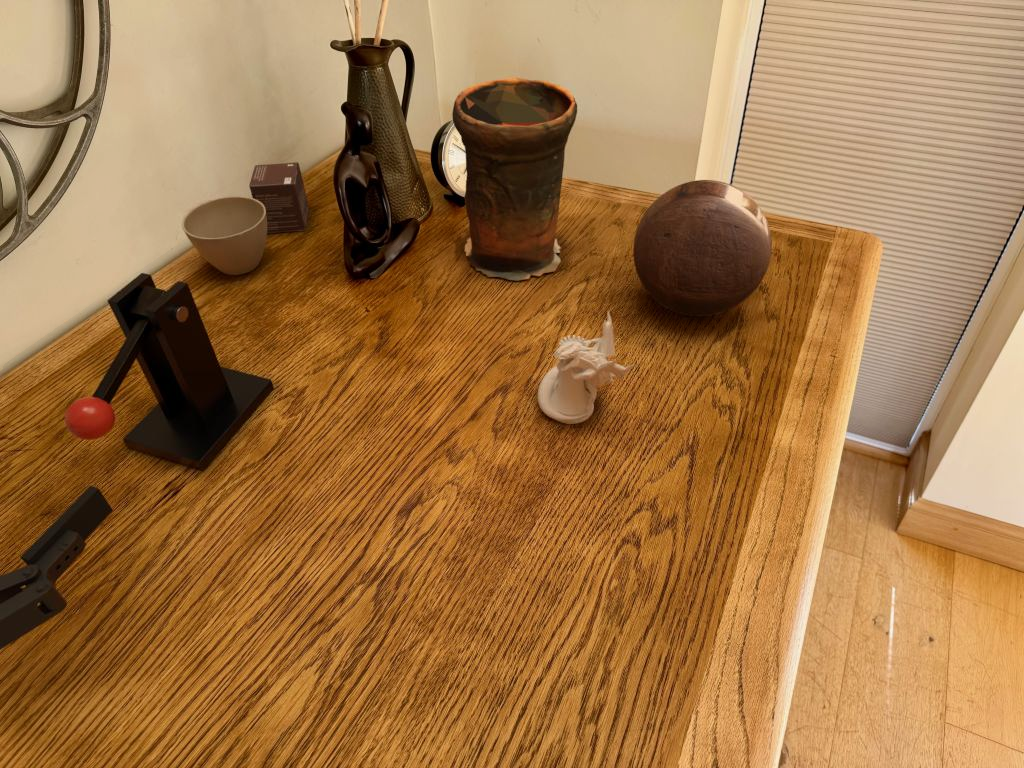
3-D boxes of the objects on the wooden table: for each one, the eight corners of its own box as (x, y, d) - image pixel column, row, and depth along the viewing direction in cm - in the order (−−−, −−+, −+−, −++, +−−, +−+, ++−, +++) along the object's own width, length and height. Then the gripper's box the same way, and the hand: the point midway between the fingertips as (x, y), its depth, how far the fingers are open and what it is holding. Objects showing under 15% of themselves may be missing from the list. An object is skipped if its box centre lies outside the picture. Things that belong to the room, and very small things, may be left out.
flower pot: (185, 266, 94) (166, 217, 89) (252, 235, 99) (237, 187, 94) (226, 297, 89) (208, 247, 84) (294, 262, 94) (281, 213, 89)
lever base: (203, 471, 69) (142, 344, 58) (127, 448, 71) (54, 321, 60) (274, 388, 77) (232, 263, 66) (204, 370, 79) (152, 246, 68)
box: (267, 212, 104) (254, 164, 99) (310, 209, 104) (299, 161, 99) (261, 234, 99) (247, 185, 94) (306, 231, 100) (294, 182, 95)
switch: (110, 450, 61) (81, 435, 58) (76, 440, 62) (46, 424, 59) (190, 309, 66) (167, 287, 63) (158, 301, 67) (134, 280, 64)
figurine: (523, 399, 75) (522, 307, 67) (582, 371, 78) (588, 279, 70) (587, 465, 69) (595, 372, 60) (649, 431, 72) (664, 338, 63)
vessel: (579, 227, 99) (587, 79, 86) (560, 288, 89) (565, 131, 75) (477, 216, 102) (469, 71, 88) (448, 274, 92) (434, 120, 78)
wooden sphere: (768, 343, 81) (803, 225, 71) (634, 343, 81) (649, 226, 71) (741, 266, 92) (767, 155, 82) (622, 267, 92) (634, 156, 82)
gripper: (-341, 700, 48) (-59, 465, 62) (-63, 847, 41) (180, 547, 56) (-447, 646, 43) (-112, 404, 57) (-148, 805, 36) (144, 486, 50)
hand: (33, 474), depth 56 cm, fingers open, 13 cm apart
